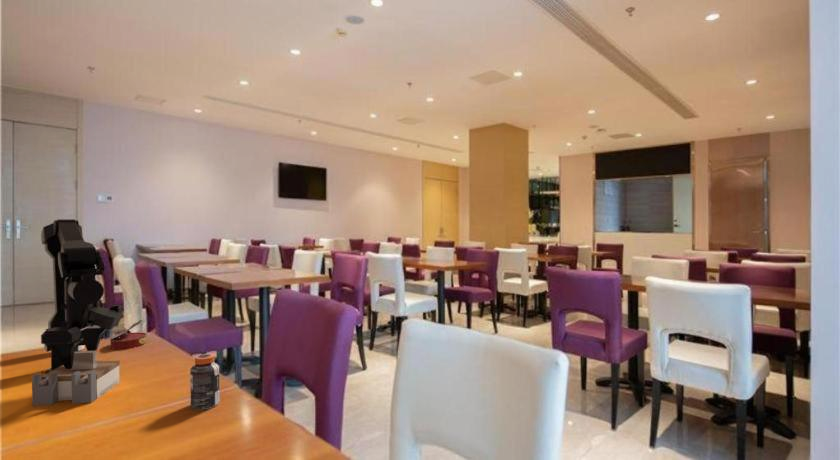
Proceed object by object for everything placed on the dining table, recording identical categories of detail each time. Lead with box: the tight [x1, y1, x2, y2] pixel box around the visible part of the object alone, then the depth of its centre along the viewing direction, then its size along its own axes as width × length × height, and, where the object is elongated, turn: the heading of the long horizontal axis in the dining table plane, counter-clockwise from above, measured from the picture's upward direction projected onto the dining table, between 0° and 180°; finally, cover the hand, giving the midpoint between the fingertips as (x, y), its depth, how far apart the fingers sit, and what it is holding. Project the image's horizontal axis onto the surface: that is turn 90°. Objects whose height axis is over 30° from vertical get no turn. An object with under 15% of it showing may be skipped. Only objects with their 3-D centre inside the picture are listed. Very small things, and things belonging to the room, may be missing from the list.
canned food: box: [109, 319, 147, 351], centre depth 145 cm, size 11×10×10 cm
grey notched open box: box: [31, 365, 120, 407], centre depth 105 cm, size 12×12×7 cm
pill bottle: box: [189, 353, 220, 411], centre depth 100 cm, size 6×6×11 cm
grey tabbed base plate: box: [39, 350, 120, 386], centre depth 105 cm, size 12×12×5 cm
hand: (81, 362), depth 106 cm, fingers open, 9 cm apart
